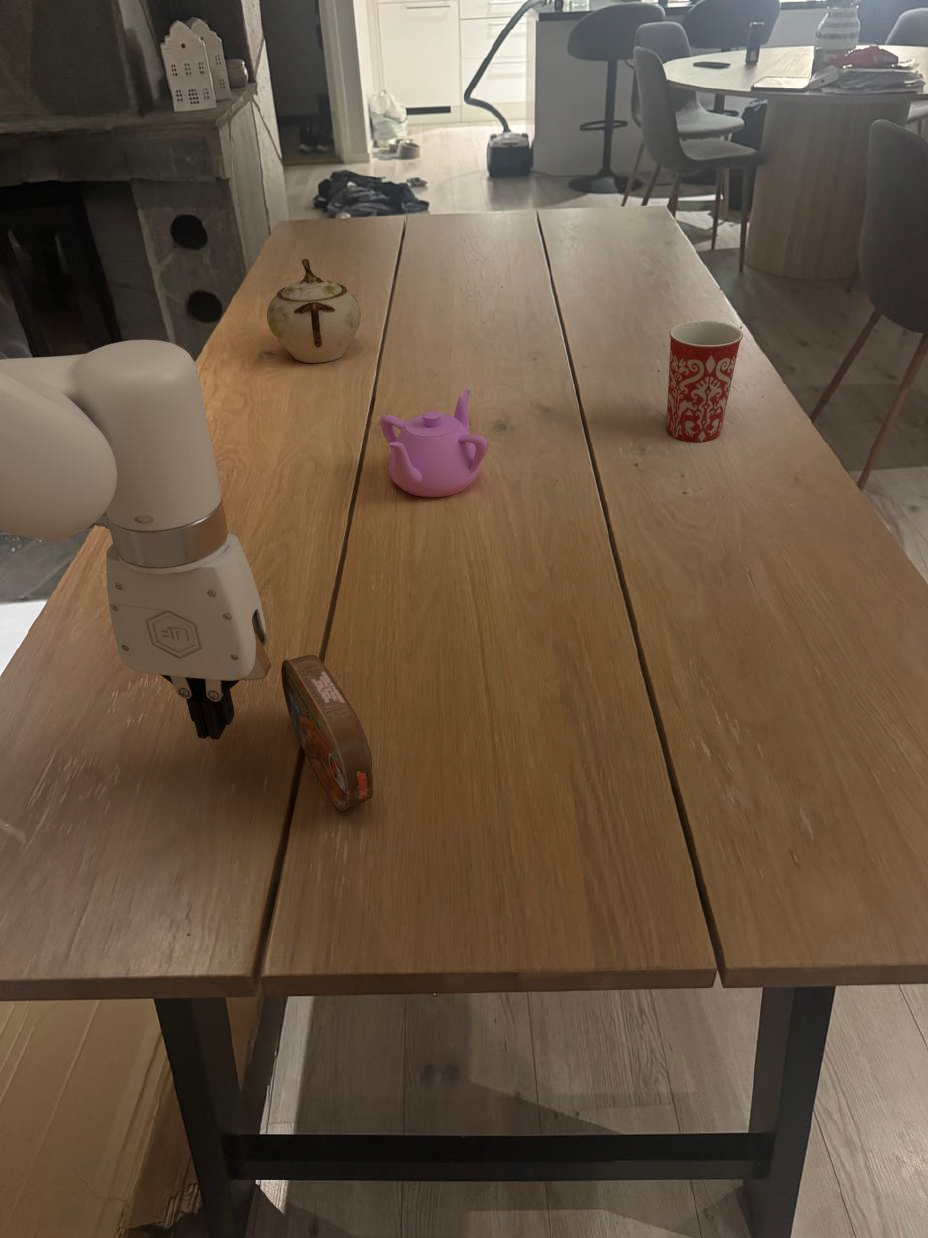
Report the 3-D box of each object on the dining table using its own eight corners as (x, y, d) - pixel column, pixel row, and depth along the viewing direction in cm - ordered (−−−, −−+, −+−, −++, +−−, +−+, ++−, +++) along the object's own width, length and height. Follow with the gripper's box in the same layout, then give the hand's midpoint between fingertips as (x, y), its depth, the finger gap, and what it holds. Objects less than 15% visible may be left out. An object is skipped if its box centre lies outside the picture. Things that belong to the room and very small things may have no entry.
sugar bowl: (273, 338, 160) (258, 247, 151) (359, 329, 161) (350, 239, 152) (274, 381, 144) (258, 282, 135) (370, 371, 146) (360, 273, 137)
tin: (285, 717, 82) (270, 642, 77) (319, 705, 83) (306, 630, 78) (348, 834, 71) (334, 755, 66) (385, 818, 72) (375, 740, 67)
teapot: (394, 510, 110) (388, 442, 105) (382, 459, 121) (375, 395, 116) (492, 498, 112) (491, 431, 106) (471, 448, 123) (469, 385, 117)
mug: (737, 443, 121) (752, 342, 113) (668, 447, 121) (679, 346, 113) (711, 404, 131) (723, 309, 123) (647, 408, 131) (655, 312, 123)
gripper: (40, 548, 61) (106, 750, 72) (256, 564, 59) (291, 769, 70) (94, 495, 67) (147, 689, 78) (291, 508, 65) (318, 705, 76)
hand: (215, 726), depth 74 cm, fingers closed
